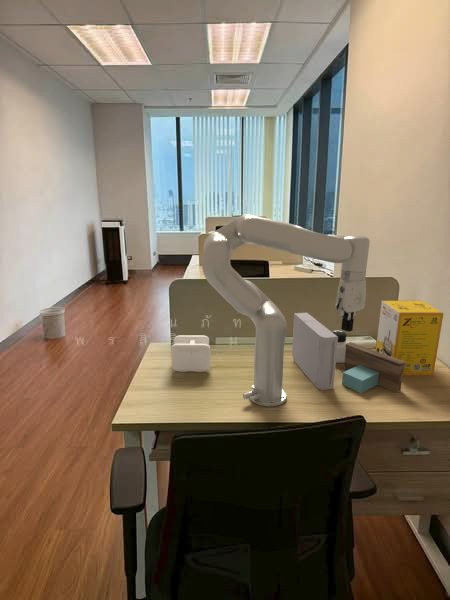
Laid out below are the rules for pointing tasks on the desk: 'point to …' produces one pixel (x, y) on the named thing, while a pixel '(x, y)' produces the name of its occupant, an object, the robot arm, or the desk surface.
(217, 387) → the desk surface
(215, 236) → the robot arm
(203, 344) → the cable organizer
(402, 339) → the packaging box
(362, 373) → the teal block
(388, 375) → the walnut board
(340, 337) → the medicine bottle
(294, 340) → the game console
